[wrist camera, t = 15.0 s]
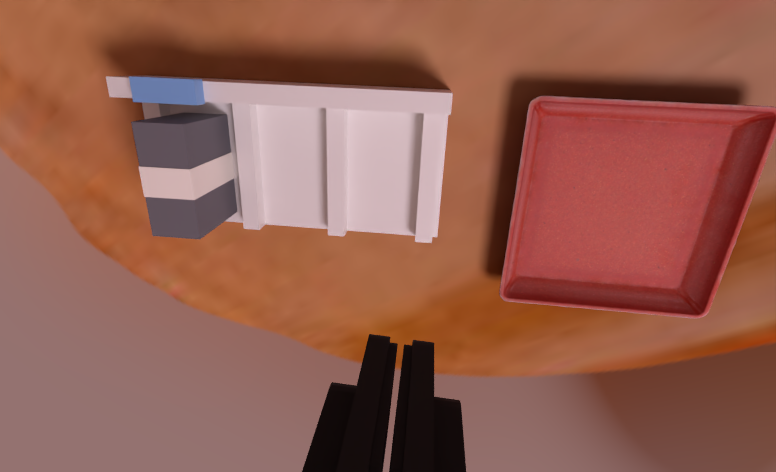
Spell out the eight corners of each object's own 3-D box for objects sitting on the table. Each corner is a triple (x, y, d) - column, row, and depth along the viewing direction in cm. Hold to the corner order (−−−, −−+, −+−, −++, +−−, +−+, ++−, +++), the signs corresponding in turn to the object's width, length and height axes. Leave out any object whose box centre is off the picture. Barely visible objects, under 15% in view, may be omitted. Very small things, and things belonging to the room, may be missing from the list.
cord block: (183, 112, 37) (130, 121, 31) (228, 114, 37) (183, 124, 30) (197, 208, 41) (151, 236, 34) (238, 211, 40) (200, 239, 34)
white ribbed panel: (146, 73, 37) (93, 74, 31) (450, 87, 35) (453, 91, 29) (169, 215, 42) (127, 238, 36) (437, 235, 40) (437, 263, 34)
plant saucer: (493, 285, 42) (498, 302, 38) (522, 92, 35) (530, 95, 32) (686, 301, 40) (707, 320, 37) (755, 102, 33) (787, 106, 30)
